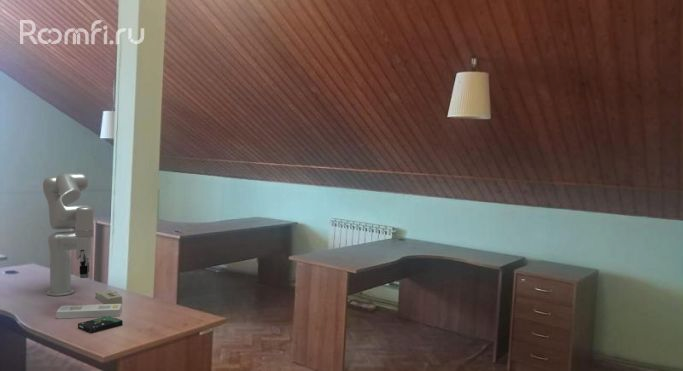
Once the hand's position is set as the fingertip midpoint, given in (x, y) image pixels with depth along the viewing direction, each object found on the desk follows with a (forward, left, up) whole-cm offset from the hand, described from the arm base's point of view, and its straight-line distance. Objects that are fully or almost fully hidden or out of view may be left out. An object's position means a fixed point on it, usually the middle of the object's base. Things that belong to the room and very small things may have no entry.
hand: (84, 272), depth 264 cm
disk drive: (+25, +10, -19) cm, 33 cm away
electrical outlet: (-17, +8, -19) cm, 27 cm away
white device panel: (+5, +3, -18) cm, 19 cm away
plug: (0, 0, -2) cm, 2 cm away
